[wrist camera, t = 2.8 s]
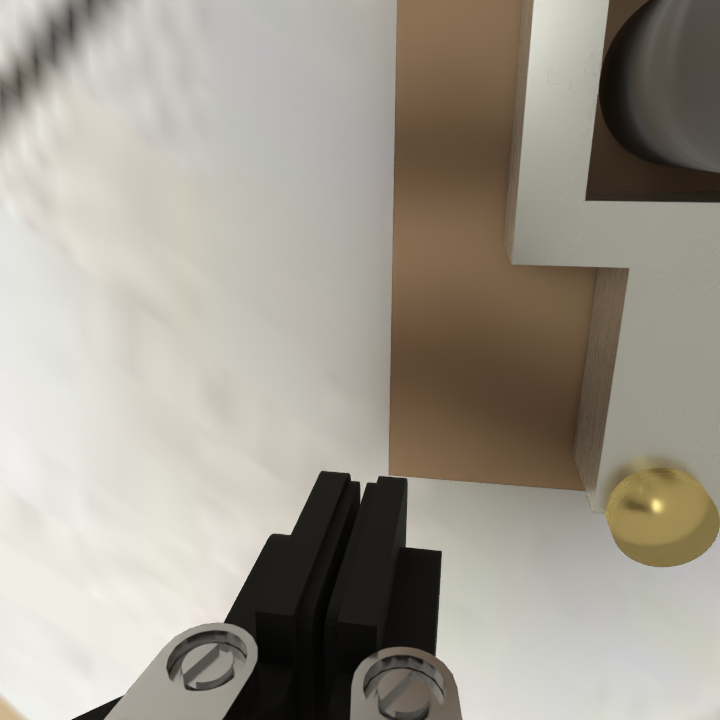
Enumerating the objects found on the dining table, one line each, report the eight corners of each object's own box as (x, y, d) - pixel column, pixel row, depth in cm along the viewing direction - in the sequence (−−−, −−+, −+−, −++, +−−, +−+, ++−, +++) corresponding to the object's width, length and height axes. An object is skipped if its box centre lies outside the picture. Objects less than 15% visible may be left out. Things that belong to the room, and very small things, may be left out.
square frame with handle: (531, -116, 14) (553, -198, 10) (933, -140, 13) (1102, -239, 9) (484, 477, 19) (489, 550, 16) (766, 500, 18) (836, 584, 14)
